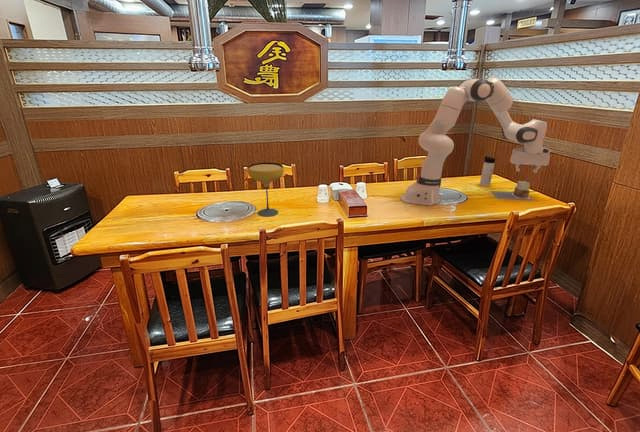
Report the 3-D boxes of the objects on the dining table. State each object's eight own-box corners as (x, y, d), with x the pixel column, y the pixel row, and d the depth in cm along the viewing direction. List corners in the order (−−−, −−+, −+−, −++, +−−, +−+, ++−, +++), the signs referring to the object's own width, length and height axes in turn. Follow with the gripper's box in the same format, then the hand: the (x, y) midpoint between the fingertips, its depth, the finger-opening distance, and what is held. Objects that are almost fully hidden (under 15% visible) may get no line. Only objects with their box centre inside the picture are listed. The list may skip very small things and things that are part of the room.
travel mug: (478, 184, 231) (484, 155, 224) (489, 185, 229) (495, 156, 222) (479, 187, 226) (484, 157, 218) (490, 188, 224) (496, 158, 216)
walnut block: (517, 197, 206) (518, 190, 204) (513, 194, 211) (515, 187, 209) (527, 197, 205) (529, 190, 203) (523, 194, 210) (525, 187, 209)
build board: (497, 200, 204) (497, 198, 203) (489, 192, 217) (489, 190, 217) (533, 202, 201) (533, 200, 201) (523, 194, 215) (523, 192, 214)
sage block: (519, 190, 204) (521, 183, 203) (516, 187, 209) (517, 181, 207) (528, 190, 204) (530, 183, 202) (525, 187, 208) (526, 181, 207)
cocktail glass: (287, 206, 191) (285, 162, 181) (282, 219, 174) (280, 171, 165) (254, 206, 192) (251, 162, 182) (247, 219, 175) (243, 171, 165)
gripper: (515, 148, 195) (509, 172, 200) (553, 150, 193) (546, 174, 198) (511, 146, 201) (505, 169, 206) (548, 148, 198) (542, 171, 204)
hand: (526, 171), depth 202 cm, fingers open, 8 cm apart
